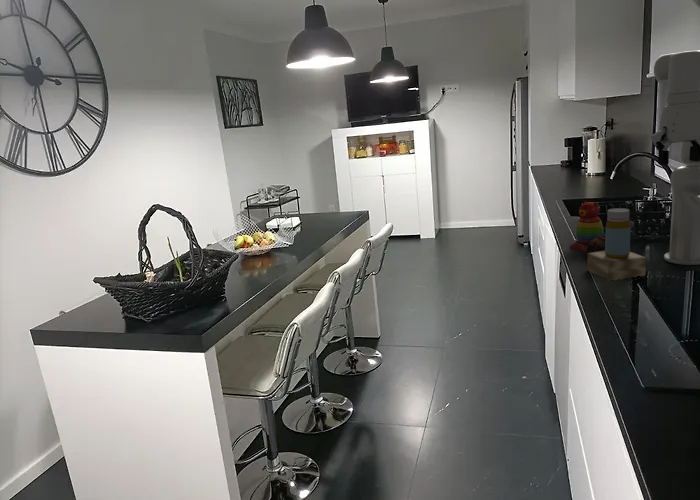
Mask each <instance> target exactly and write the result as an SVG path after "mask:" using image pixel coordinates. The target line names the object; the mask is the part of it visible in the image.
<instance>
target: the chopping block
mask: <svg viewBox="0 0 700 500" xmlns="http://www.w3.org/2000/svg"><path fill="white" fill-rule="evenodd" d="M646 266H647V256H643V255H640V254H638V253H635V252H632V251H630V254H629V256H628V257H626V258H621V259H615V258H609V257H607V256H606V254H605V250H604V251H599V252H593V253H588V256H587V269H586V270H587V271H588V272H590V273H592V274H595V276H598V275H599V277H600V278H603V279H605V278H606V279H605V280H607V279H608V280H607V281H609V280H614V281H619V280H618V279H620V280H625V278H627V279H632V278H631V277H633V278H638V277H637V276H640V277H646V272H647V271H646V270H647V269H646V268H647V267H646Z"/></svg>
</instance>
